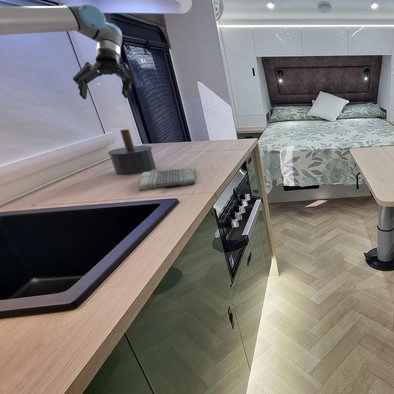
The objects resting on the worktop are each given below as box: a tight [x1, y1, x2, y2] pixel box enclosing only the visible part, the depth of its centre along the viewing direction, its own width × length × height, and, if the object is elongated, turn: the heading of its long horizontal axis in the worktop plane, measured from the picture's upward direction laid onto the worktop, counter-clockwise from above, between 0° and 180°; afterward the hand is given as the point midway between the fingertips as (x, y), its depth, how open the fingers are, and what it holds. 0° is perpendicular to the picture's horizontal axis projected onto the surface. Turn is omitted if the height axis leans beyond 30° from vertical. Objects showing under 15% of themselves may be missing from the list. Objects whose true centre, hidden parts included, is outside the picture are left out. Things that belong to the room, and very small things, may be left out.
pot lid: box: [107, 128, 153, 156], centre depth 117 cm, size 15×15×9 cm
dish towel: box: [137, 167, 197, 192], centre depth 108 cm, size 19×18×3 cm
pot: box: [109, 149, 157, 176], centre depth 120 cm, size 14×14×8 cm
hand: (104, 96), depth 111 cm, fingers open, 13 cm apart
